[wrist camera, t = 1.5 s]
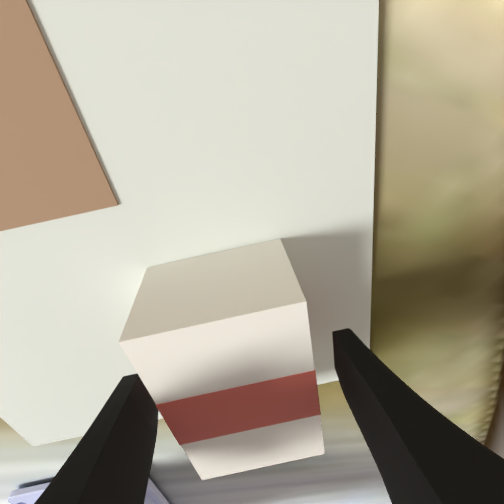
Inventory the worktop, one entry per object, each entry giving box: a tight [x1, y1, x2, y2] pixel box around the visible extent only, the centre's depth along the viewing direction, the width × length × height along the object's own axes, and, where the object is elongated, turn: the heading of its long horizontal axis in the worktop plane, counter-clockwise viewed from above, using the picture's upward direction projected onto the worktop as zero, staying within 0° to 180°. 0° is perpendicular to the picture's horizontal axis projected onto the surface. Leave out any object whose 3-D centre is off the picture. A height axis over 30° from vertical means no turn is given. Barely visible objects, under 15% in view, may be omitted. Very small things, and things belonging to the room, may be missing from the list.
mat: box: [0, 0, 379, 446], centre depth 10 cm, size 22×18×1 cm
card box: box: [119, 239, 325, 480], centre depth 11 cm, size 8×5×4 cm, turn 11°
